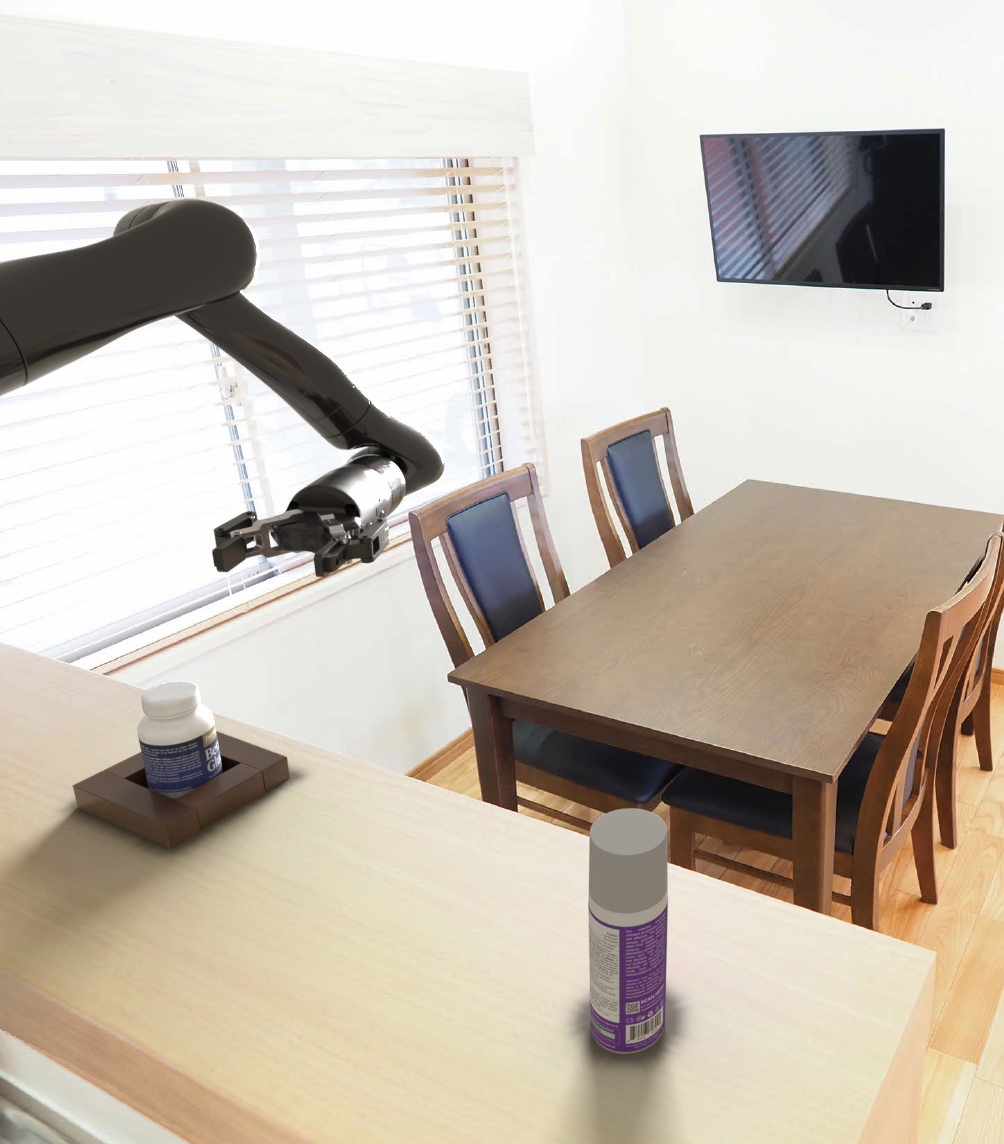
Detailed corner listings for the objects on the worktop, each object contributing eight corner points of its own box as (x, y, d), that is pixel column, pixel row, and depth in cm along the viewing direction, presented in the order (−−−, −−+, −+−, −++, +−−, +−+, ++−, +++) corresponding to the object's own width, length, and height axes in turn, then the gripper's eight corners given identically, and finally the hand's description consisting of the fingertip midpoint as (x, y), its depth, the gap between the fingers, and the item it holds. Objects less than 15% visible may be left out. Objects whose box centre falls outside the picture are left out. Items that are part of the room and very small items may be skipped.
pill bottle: (228, 803, 80) (210, 699, 77) (152, 821, 78) (130, 714, 74) (223, 770, 84) (205, 671, 81) (151, 786, 82) (129, 684, 78)
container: (667, 999, 63) (671, 807, 58) (662, 1059, 59) (666, 858, 54) (595, 998, 63) (593, 805, 58) (585, 1058, 59) (581, 856, 53)
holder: (172, 852, 74) (166, 825, 73) (78, 811, 78) (72, 785, 77) (290, 781, 84) (287, 756, 83) (201, 747, 88) (197, 723, 87)
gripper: (267, 469, 98) (179, 519, 83) (409, 476, 98) (347, 528, 83) (276, 539, 100) (192, 600, 85) (415, 546, 101) (355, 608, 86)
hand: (269, 564), depth 84 cm, fingers open, 8 cm apart
